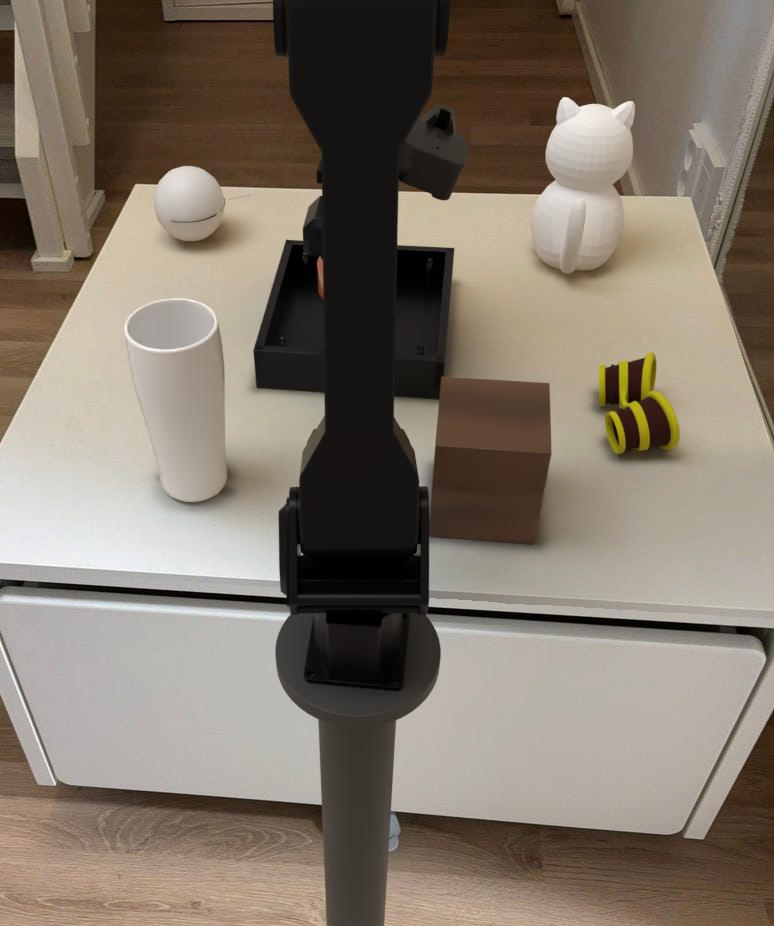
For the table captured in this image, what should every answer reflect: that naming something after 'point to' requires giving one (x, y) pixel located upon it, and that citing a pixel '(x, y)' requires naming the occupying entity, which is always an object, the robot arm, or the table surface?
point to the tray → (302, 323)
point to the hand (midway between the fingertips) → (356, 277)
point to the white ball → (189, 203)
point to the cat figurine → (583, 186)
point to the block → (490, 459)
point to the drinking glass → (181, 393)
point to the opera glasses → (636, 407)
